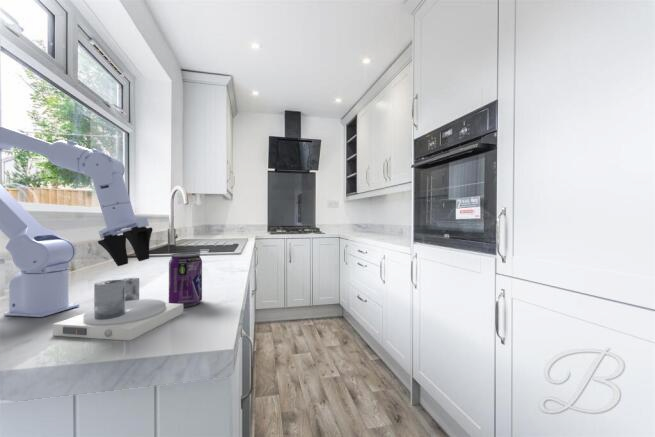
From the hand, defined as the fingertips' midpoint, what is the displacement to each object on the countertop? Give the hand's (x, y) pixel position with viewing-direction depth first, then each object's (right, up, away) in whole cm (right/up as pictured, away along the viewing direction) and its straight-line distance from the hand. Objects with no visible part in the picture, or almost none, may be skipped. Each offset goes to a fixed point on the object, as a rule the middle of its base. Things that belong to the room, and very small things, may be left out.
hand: (133, 262), depth 67 cm
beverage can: (+12, -10, +1) cm, 15 cm away
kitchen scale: (+6, -10, -11) cm, 16 cm away
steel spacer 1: (+6, -7, -15) cm, 17 cm away
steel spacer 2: (-2, -10, +1) cm, 10 cm away
